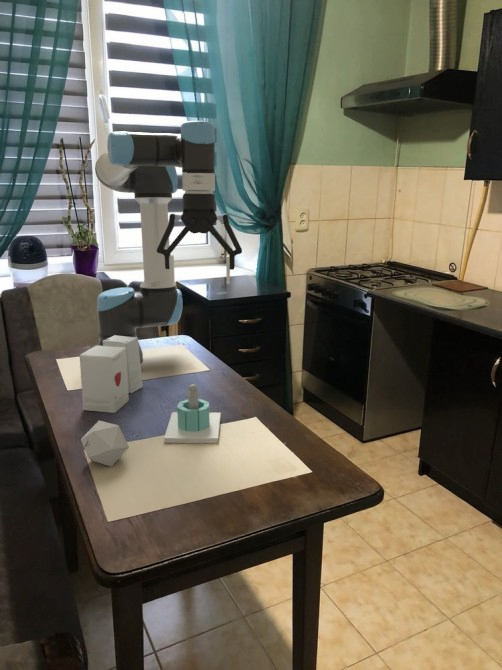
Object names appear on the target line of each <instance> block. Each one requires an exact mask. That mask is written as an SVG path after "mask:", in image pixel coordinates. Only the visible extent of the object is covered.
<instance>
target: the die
mask: <svg viewBox="0 0 502 670" xmlns="http://www.w3.org/2000/svg"><path fill="white" fill-rule="evenodd" d="M80 442H81V444H82V446H83V448H84V450H85V454H86V455H87V457H88V459H89V460H90V461H92V462H93V463H94V462H95V463H97V464H101V465H104V466H107V467H112V466H114V464H115V463H116V462H117V461H118V460H119V459H120V458H121V457H122V456H123V455H124V454H125V452H126V451H127V450H128V449H129V448H130V446H129V444H128V441H127V440H126V438H125V435H124V433H123V431H122V429H121V428H120V425H118V424H114V423H112V422H111V423H110V422H107V421H102V420H98V421H97V422H95V424H94V425H93V426H92V427H91V428H90V429H89V431H87V432H86V433H85V434H84V435H83V436H82V438H80Z"/></svg>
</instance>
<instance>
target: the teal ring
mask: <svg viewBox="0 0 502 670" xmlns="http://www.w3.org/2000/svg"><path fill="white" fill-rule="evenodd" d="M198 400H199V409H188V398H187V399H184V400H182V401H179V402H178V404H177V407H176V409H177V411H176V412H177V414H178V428H180V429H182V430H184V431H201V430H204V429H206V428H208V427H209V413H210V402H209V401H207V400H204V399H202V398H201V399H200V398H198Z"/></svg>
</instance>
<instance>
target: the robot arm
mask: <svg viewBox="0 0 502 670" xmlns="http://www.w3.org/2000/svg"><path fill="white" fill-rule="evenodd" d="M215 142H216V137H215V127H214V124H213V123H212V122H209V121H203V120H187V121H183V122H182V123H181V125H180V133H161V132H159V133H157V132H153V133H152V132H134V131H125V130H123V131H111V132H110V133H109V134H108V135H107V143H106V145H107V151H106V152H103V154H101V155H100V156H99V157H98V159H97V160H96V162H95V164H94V165H95V166H94V173H95V175H96V178H97V180H98V181H99V182H100V183H101V184H102V185H103V186H104V187H106V188H107V189H109V190H113V191H115V192H118V193H127V194H128V193H130V194H134V200H135V201H136V202H137V203H138V204H139V209H140V226H141V227H140V228H141V229H140V230H141V244H142V261H143V265H142V266H143V281H142V282H141V284H140V285H139V291H135V288H133V287H130V286H129V287H127V286H126V287H116V288H111V289H108V290H105V291H103V292H100V293H99V295H98V296H97V298H96V310H97V319H98V336H99V337H98V339H99V340H98V343H97V346H103V340H106V339H108V338H110V337H112V336H114V335H116V336H126V337H137V329H139V328H151V327H166V326H170V325H176V324H177V323H178V322H180V319H181V317H182V312H183V300H184V299H183V294H182V291H181V289H178V288H177V284H176V283H175V256H174V254H171V253H173V251H174V250H175V249H176V247H177V246H178V245H179V244H180V242H181V241H182V240H183V239H184V238H185V237H186V235H187V234H188V233H189V232H190V234H191V233H192V234H207V233H210V234H211V236H213V238H214V239H215V240H216V241H217V242H218V243H219V245H220V246H221V247H222V248H223V249H224V250H225V251H226V253H227V254H228V255H226V258H225V259H226V261H225V264H226V285H230V283H231V270H234V269H235V263H236V262H235V261H236V260H235V257H236V256H238V255H240V254H242V252H243V249H242V247H241V245H240V242H239V240H238V238H237V235H235V232H234V230H233V228H232V226H231V224H230V218H229V214H228V213H224V214H219V215H217V214H216V195H215V194H214V193H213V192H214V191H215V190H216V176H215V175H216V172H215V164H216V163H215V161H216V160H215V157H216V156H215V153H216V152H215V149H216V148H215ZM176 168H180V169H181V174H182V175H181V179H182V182H181V184H182V187H181V188H182V191H184V193H183V194H182V214H177V213H174V212H172V213H170V214H169V208H168V207H169V206H168V204H169V203H170V202H171V201H172V200H173V194H175V193H176V192H177V191H178V183H179V179H178V173H177V169H176ZM180 221H181V223H183V225H184V227H183V229H182V230H181V231H180V233H179V234H178V235H177V237H175V239H174V240H173V241H172V242H171V244H170V236H171V234H172V232H173V230H174V227H175V226H176V224H178V223H179V222H180ZM217 221H219V223H220V224H222V225H224V226H223V227H224V228H225V230H226V232H227V234H228V237H229V239H230V241H231V243H232V245H233V247H234V248H235V249H233V248H232V247H231V246H230V245H229V243H228V242H227V241H226V240H225V239H224V237H223V236H222V235H221V234H220V232H219V231H218V230H217V229H216V228H215V227H214V225H215V223H216V222H217ZM138 344H139V354H140V363H142V362H143V360H144V353H143V349H142V347H141V345H140V342H139V341H138Z"/></svg>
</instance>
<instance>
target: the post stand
mask: <svg viewBox="0 0 502 670" xmlns="http://www.w3.org/2000/svg"><path fill="white" fill-rule="evenodd" d="M187 399H188V409H199V400H198V399H199V387H198V385H197V384H194V383H191V384H190V385H189V386H188V388H187ZM220 424H221V412H209V427H208V428H206V429H204V430H201V431H184V430H182V429H180V428H178V414H177V411H176V412H175V411H173V412H171V415H170V418H169V422H168V425H167V428H166V431H165V433H164V434H165V435H164V437H163V439H164V440H163V441H164V442H163V443H164V444H219V436H220V427H221V425H220Z"/></svg>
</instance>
